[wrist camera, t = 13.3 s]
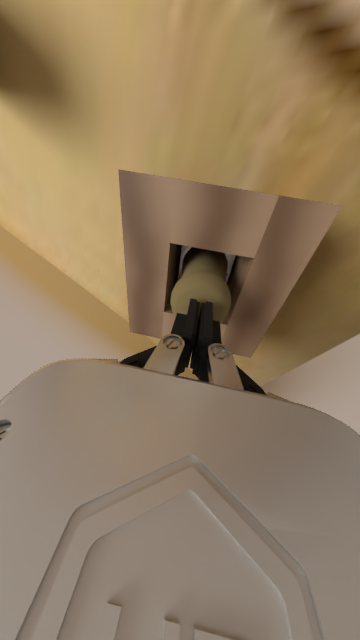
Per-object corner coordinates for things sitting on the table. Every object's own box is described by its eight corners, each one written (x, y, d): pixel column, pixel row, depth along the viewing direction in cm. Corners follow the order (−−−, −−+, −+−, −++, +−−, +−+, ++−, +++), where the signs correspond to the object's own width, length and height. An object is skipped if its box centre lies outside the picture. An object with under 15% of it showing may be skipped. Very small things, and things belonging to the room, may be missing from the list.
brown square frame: (295, 204, 17) (342, 205, 11) (241, 321, 27) (250, 357, 21) (151, 181, 18) (118, 169, 12) (148, 302, 28) (130, 331, 21)
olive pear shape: (224, 289, 23) (231, 343, 14) (182, 287, 24) (164, 336, 15) (231, 243, 19) (247, 276, 11) (181, 242, 20) (158, 272, 11)
